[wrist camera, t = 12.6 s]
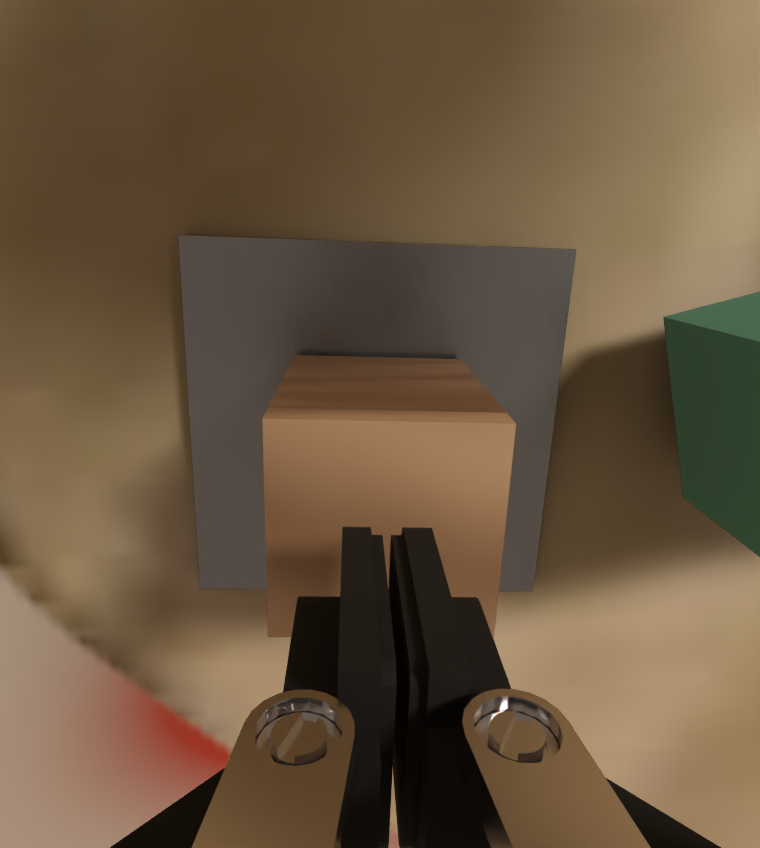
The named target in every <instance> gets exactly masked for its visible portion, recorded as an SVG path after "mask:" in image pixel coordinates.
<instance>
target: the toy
mask: <svg viewBox="0 0 760 848" xmlns="http://www.w3.org/2000/svg"><path fill="white" fill-rule="evenodd" d="M664 326H665V335H666V344H667V354H668V363H669V372H670V381H671V391H672V400H673V409H674V418H675V427H676V437H677V446H678V455H679V464H680V473H681V483H682V492H683V497H684V498H685V499H686V500H687V501H689V502H690V503H691V504H693V505H694V506H695V507H696V508H698V509H699V510H700V511H702V512H703V513H704V514H705V515H707V516H708V517H709V518H711V519H712V520H713V521H714V522H716V523H717V524H718V525H720V526H721V527H722V528H723V529H725V530H726V531H727V532H729V533H730V534H731V535H732V536H734V537H735V538H736V539H737V540H739V541H740V542H741V543H743V544H744V545H745V546H746V547H748V548H749V549H750V550H752V551H753V552H754V553H755V554H757V555H758V556H759V557H760V292H757V293H754V294H750V295H746V296H742V297H738V298H734V299H731V300H727V301H723V302H719V303H715V304H711V305H708V306H704V307H700V308H696V309H692V310H688V311H684V312H681V313H677V314H673V315H669V316H665V317H664Z"/></svg>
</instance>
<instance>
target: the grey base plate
mask: <svg viewBox="0 0 760 848" xmlns="http://www.w3.org/2000/svg"><path fill="white" fill-rule="evenodd" d="M178 240H179V257H180V273H181V289H182V305H183V322H184V338H185V354H186V371H187V387H188V403H189V419H190V436H191V452H192V468H193V484H194V501H195V517H196V533H197V550H198V566H199V582H200V589H267V580H266V541H265V501H264V462H263V422H262V418H263V416H264V414H265V412H266V410H267V408H268V406H269V404H270V402H271V400H272V398H273V396H274V394H275V392H276V390H277V388H278V386H279V384H280V382H281V380H282V378H283V376H284V374H285V372H286V370H287V368H288V366H289V364H290V362H291V360H292V358H293V356H294V355H314V356H353V357H393V358H432V359H461V360H462V361H463V362H464V364H465V365H466V366H467V367H468V368H469V369H470V371H471V372H472V373H473V374H474V375H475V376H476V378H477V379H478V380H479V381H480V382H481V383H482V385H483V386H484V387H485V388H486V389H487V390H488V392H489V393H490V394H491V395H492V396H493V397H494V399H495V400H496V401H497V402H498V403H499V404H500V405H501V407H502V408H503V409H504V410H505V411H506V412H507V414H508V415H509V416H510V417H511V418H512V419H513V421H514V422H515V423H516V430H515V440H514V449H513V459H512V468H511V478H510V487H509V497H508V506H507V516H506V525H505V535H504V544H503V554H502V563H501V573H500V582H499V591H533V587H534V579H535V571H536V563H537V555H538V547H539V539H540V531H541V523H542V515H543V507H544V499H545V491H546V484H547V476H548V468H549V460H550V452H551V444H552V436H553V428H554V420H555V412H556V404H557V396H558V388H559V381H560V373H561V365H562V357H563V349H564V341H565V333H566V325H567V317H568V309H569V301H570V293H571V285H572V278H573V270H574V262H575V254H576V249H554V248H526V247H498V246H470V245H443V244H415V243H387V242H359V241H332V240H304V239H276V238H248V237H221V236H193V235H178Z"/></svg>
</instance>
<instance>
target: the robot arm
mask: <svg viewBox="0 0 760 848" xmlns="http://www.w3.org/2000/svg"><path fill="white" fill-rule="evenodd" d="M392 767H393V776H394V789H395V801H396V814H397V826H398V839H399V846H400V848H721V847H719V846H717V845H716V844H714V843H712V842H711V841H709V840H707V839H706V838H704V837H702V836H701V835H699V834H698V833H696V832H694V831H693V830H691V829H689V828H688V827H686V826H684V825H683V824H681V823H679V822H678V821H676V820H674V819H673V818H671V817H669V816H668V815H666V814H665V813H663V812H661V811H660V810H658V809H656V808H655V807H653V806H651V805H650V804H648V803H646V802H645V801H643V800H641V799H640V798H638V797H636V796H635V795H633V794H631V793H630V792H628V791H627V790H625V789H623V788H622V787H620V786H618V785H617V784H615V783H613V782H612V781H610V780H608V779H607V778H605V776H604V775H603V773H602V772H601V770H600V769H599V767H598V766H597V764H596V763H595V761H594V759H593V758H592V756H591V755H590V753H589V752H588V750H587V749H586V747H585V746H584V744H583V743H582V741H581V739H580V738H579V736H578V735H577V733H576V732H575V730H574V729H573V727H572V726H571V724H570V723H569V721H568V720H567V719H566V717H565V716H564V715H563V714H562V713H561V712H560V711H559V709H557V708H556V707H555V706H553V705H552V704H550V703H549V702H548V701H546V700H545V699H543V698H541V697H538V696H536V695H534V694H531V693H529V692H525V691H520V690H516V689H511V687H510V684H509V682H508V679H507V676H506V673H505V670H504V668H503V665H502V662H501V659H500V656H499V654H498V651H497V648H496V645H495V642H494V640H493V637H492V634H491V631H490V629H489V626H488V623H487V620H486V617H485V615H484V612H483V609H482V606H481V603H480V601H479V599H478V598H476V597H451V593H450V590H449V586H448V583H447V579H446V576H445V572H444V569H443V565H442V562H441V558H440V555H439V551H438V547H437V544H436V540H435V537H434V533H433V530H432V528H412V527H403V528H402V533H401V535H391V542H390V564H389V587H388V582H387V572H386V563H385V554H384V544H383V536H382V535H372V532H371V527H342V555H341V588H340V597H327V596H298V598H297V604H296V610H295V617H294V623H293V630H292V637H291V643H290V650H289V657H288V663H287V670H286V677H285V683H284V690H283V693H278V694H276V695H274V696H272V697H270V698H268V699H266V700H264V701H263V702H262V703H260V704H259V705H258V706H257V707H256V708H254V709H253V710H252V711H251V713H250V714H249V716H248V718H247V719H246V721H245V722H244V724H243V727H242V729H241V731H240V734H239V736H238V738H237V741H236V743H235V746H234V748H233V750H232V753H231V755H230V757H229V760H228V762H227V765H226V767H225V768H224V769H222V770H221V771H219V772H218V773H217V774H215V775H214V776H212V777H211V778H209V779H208V780H207V781H205V782H204V783H202V784H201V785H199V786H198V787H196V788H195V789H194V790H192V791H191V792H189V793H188V794H187V795H185V796H184V797H183V798H181V799H179V800H178V801H176V802H175V803H174V804H172V805H171V806H169V807H168V808H166V809H165V810H163V811H162V812H161V813H159V814H158V815H156V816H155V817H153V818H152V819H150V820H149V821H148V822H146V823H145V824H143V825H142V826H140V827H139V828H138V829H136V830H135V831H133V832H132V833H130V834H129V835H128V836H126V837H125V838H123V839H122V840H120V841H119V842H117V843H116V844H115V845H113V846H112V847H111V848H388V844H389V826H390V806H391V786H392Z"/></svg>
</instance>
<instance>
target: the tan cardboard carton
mask: <svg viewBox="0 0 760 848" xmlns="http://www.w3.org/2000/svg"><path fill="white" fill-rule="evenodd" d="M262 422H263V462H264V501H265V541H266V580H267V619H268V637H292V630H293V623H294V617H295V610H296V604H297V598H298V596H327V597H340V588H341V555H342V527H371V532H372V535H382V536H383V544H384V554H385V563H386V572H387V582H388V587H389V564H390V542H391V535H401V533H402V528H403V527H412V528H432V530H433V533H434V537H435V540H436V544H437V547H438V551H439V555H440V558H441V562H442V565H443V569H444V572H445V576H446V579H447V583H448V586H449V590H450V593H451V597H476V598H478V599H479V601H480V603H481V606H482V609H483V612H484V615H485V617H486V620H487V623H488V626H489V629H490V631H491V634H492V637H493V638H494V630H495V620H496V611H497V601H498V592H499V582H500V573H501V563H502V554H503V544H504V535H505V525H506V516H507V506H508V497H509V487H510V478H511V468H512V459H513V449H514V440H515V430H516V423H515V422H514V421H513V419H512V418H511V417H510V416H509V415H508V414H507V412H506V411H505V410H504V409H503V408H502V407H501V405H500V404H499V403H498V402H497V401H496V400H495V399H494V397H493V396H492V395H491V394H490V393H489V392H488V390H487V389H486V388H485V387H484V386H483V385H482V383H481V382H480V381H479V380H478V379H477V378H476V376H475V375H474V374H473V373H472V372H471V371H470V369H469V368H468V367H467V366H466V365H465V364H464V362H463V361H462V360H461V359H432V358H393V357H353V356H314V355H294V356H293V358H292V360H291V362H290V364H289V366H288V368H287V370H286V372H285V374H284V376H283V378H282V380H281V382H280V384H279V386H278V388H277V390H276V392H275V394H274V396H273V398H272V400H271V402H270V404H269V406H268V408H267V410H266V412H265V414H264V416H263V418H262Z"/></svg>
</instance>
